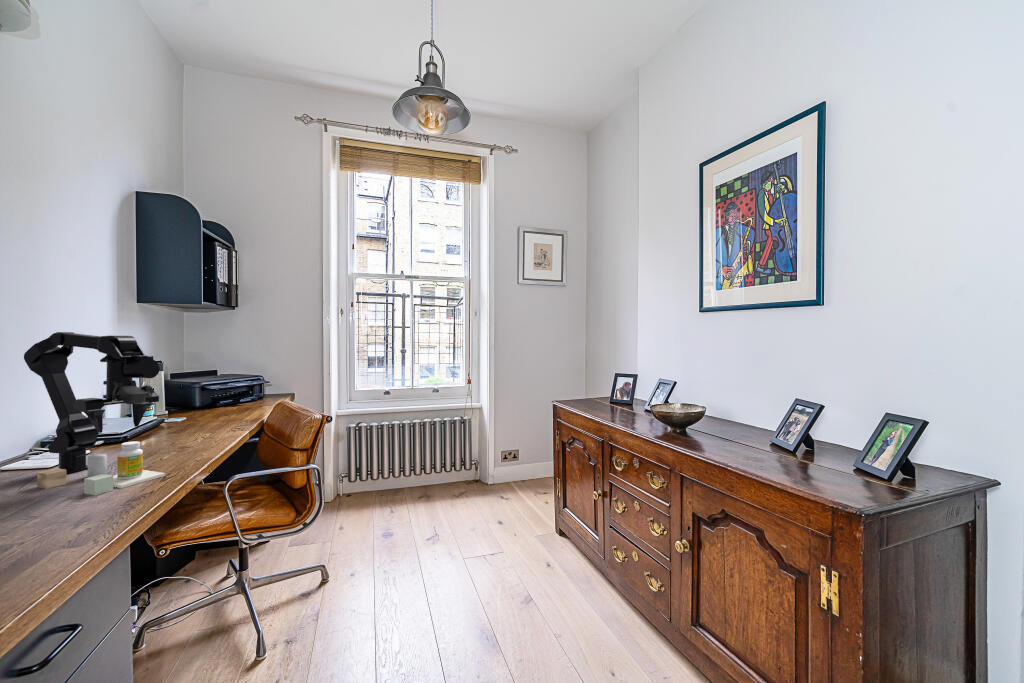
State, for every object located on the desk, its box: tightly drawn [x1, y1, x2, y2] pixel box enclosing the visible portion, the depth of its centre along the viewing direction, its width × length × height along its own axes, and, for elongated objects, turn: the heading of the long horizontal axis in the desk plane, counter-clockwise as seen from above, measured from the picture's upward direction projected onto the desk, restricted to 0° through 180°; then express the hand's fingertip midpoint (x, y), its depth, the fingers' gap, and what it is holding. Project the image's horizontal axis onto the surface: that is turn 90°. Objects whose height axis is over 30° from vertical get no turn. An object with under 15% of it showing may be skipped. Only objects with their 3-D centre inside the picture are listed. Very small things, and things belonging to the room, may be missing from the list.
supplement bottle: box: [116, 441, 144, 479], centre depth 121 cm, size 5×5×10 cm
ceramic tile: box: [113, 469, 166, 489], centre depth 121 cm, size 11×11×1 cm
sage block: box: [83, 473, 114, 496], centre depth 111 cm, size 4×4×4 cm
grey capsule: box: [87, 453, 108, 478], centre depth 123 cm, size 4×4×6 cm
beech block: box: [36, 467, 67, 490], centre depth 115 cm, size 4×4×4 cm
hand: (118, 429), depth 126 cm, fingers open, 9 cm apart
